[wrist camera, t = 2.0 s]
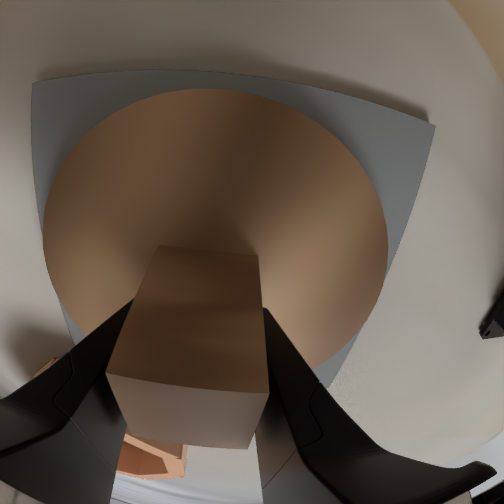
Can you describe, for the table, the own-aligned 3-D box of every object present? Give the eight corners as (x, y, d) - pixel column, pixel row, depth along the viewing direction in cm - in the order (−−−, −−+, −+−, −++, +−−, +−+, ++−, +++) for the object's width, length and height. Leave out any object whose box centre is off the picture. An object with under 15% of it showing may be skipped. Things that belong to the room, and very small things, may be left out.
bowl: (184, 384, 15) (177, 438, 12) (189, 452, 21) (187, 486, 18) (15, 344, 14) (-6, 382, 11) (68, 424, 20) (59, 454, 17)
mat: (429, 123, 8) (435, 125, 8) (327, 382, 15) (328, 387, 15) (38, 82, 7) (32, 83, 7) (83, 355, 14) (81, 361, 14)
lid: (422, 135, 8) (555, 201, 3) (323, 383, 15) (342, 478, 10) (41, 94, 7) (-94, 134, 2) (86, 357, 13) (53, 447, 8)
